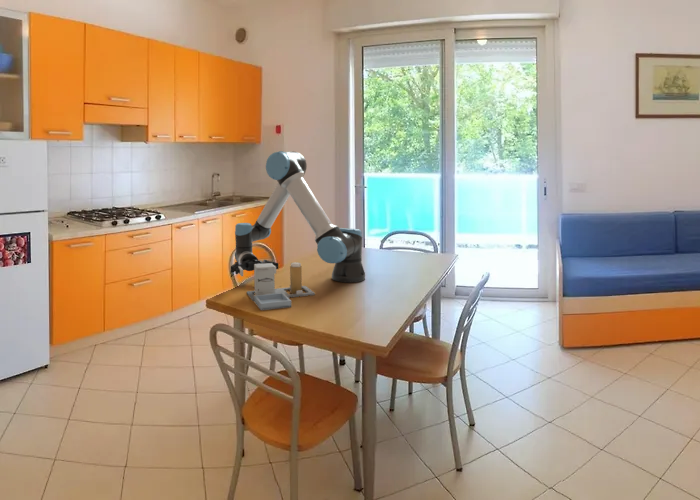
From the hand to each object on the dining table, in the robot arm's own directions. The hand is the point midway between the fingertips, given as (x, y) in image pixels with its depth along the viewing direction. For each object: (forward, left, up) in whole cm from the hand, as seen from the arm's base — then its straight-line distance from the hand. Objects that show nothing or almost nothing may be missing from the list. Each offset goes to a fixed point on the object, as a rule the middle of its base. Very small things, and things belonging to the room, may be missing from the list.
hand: (259, 271), depth 211 cm
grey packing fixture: (-7, +8, -8) cm, 13 cm away
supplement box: (0, +8, -8) cm, 11 cm away
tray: (0, +20, -8) cm, 22 cm away
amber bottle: (-13, +8, -8) cm, 17 cm away
